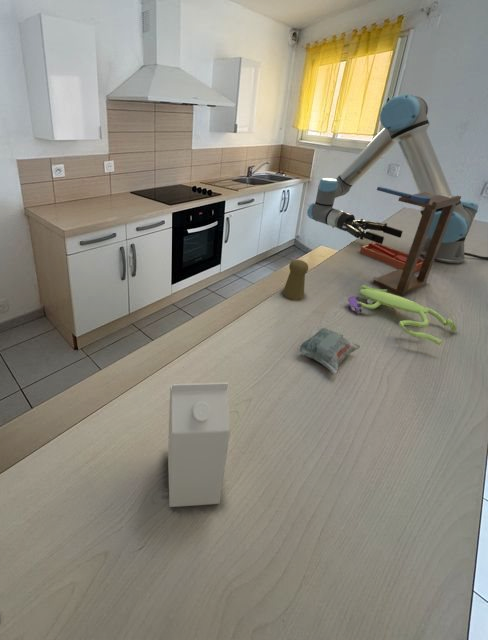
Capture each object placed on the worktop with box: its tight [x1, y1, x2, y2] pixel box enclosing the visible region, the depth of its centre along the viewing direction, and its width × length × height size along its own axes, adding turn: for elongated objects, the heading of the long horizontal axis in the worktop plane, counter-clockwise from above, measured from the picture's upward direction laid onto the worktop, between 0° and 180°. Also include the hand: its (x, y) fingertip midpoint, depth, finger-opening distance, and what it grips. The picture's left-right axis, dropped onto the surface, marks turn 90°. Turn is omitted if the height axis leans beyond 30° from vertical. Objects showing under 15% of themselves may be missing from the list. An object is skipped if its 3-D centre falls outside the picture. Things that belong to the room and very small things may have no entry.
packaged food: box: [299, 327, 361, 376], centre depth 72 cm, size 9×12×5 cm
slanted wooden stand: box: [372, 192, 462, 298], centre depth 100 cm, size 10×16×30 cm, turn 123°
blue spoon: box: [376, 186, 431, 203], centre depth 95 cm, size 15×4×1 cm, turn 25°
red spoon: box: [368, 241, 407, 263], centre depth 123 cm, size 15×4×1 cm, turn 33°
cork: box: [282, 259, 309, 301], centre depth 95 cm, size 6×6×11 cm
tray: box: [359, 242, 424, 273], centre depth 123 cm, size 19×10×3 cm, turn 33°
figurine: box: [347, 284, 457, 346], centre depth 87 cm, size 18×27×6 cm
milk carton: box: [167, 382, 231, 508], centre depth 44 cm, size 7×7×19 cm
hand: (392, 237), depth 121 cm, fingers open, 13 cm apart
